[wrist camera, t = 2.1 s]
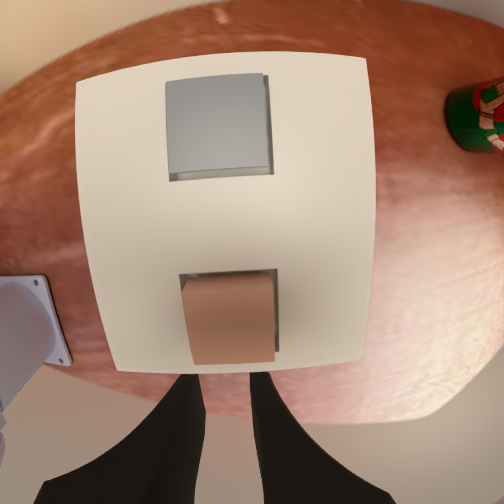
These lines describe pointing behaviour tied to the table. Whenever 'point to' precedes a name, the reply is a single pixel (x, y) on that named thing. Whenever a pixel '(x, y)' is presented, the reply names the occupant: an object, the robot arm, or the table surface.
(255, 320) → the terracotta key
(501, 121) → the soda can
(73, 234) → the table surface
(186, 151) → the slate key
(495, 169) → the table surface
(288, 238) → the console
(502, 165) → the table surface
